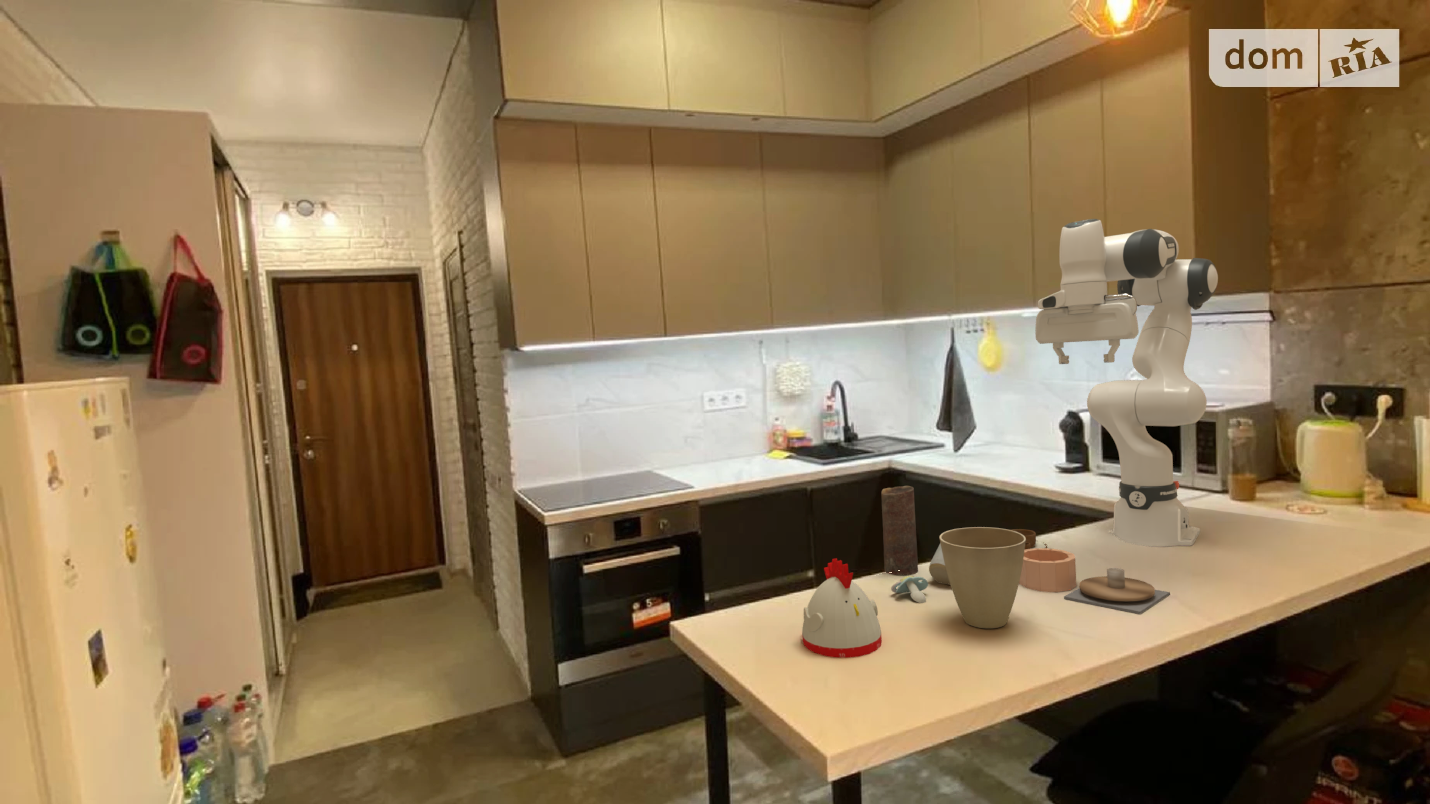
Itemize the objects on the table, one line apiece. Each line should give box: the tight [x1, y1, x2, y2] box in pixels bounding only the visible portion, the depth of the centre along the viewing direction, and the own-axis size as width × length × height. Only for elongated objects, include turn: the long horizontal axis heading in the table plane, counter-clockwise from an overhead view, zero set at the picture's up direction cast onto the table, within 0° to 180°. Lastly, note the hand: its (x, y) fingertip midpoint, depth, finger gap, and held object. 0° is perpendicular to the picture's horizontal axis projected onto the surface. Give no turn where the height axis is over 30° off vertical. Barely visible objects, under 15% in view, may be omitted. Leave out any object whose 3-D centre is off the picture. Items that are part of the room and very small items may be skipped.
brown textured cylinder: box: [881, 485, 919, 577], centre depth 172 cm, size 8×7×20 cm
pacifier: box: [890, 575, 929, 604], centre depth 156 cm, size 7×6×6 cm
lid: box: [1078, 567, 1156, 601], centre depth 150 cm, size 13×13×5 cm
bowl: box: [1019, 547, 1077, 593], centre depth 161 cm, size 11×11×6 cm
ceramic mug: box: [928, 543, 951, 586], centre depth 163 cm, size 11×8×8 cm
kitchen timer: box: [801, 557, 883, 659], centre depth 137 cm, size 14×14×15 cm
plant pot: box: [938, 526, 1026, 629], centre depth 141 cm, size 15×15×16 cm
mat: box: [1063, 587, 1171, 615], centre depth 150 cm, size 14×14×1 cm
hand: (1086, 363), depth 163 cm, fingers open, 8 cm apart
